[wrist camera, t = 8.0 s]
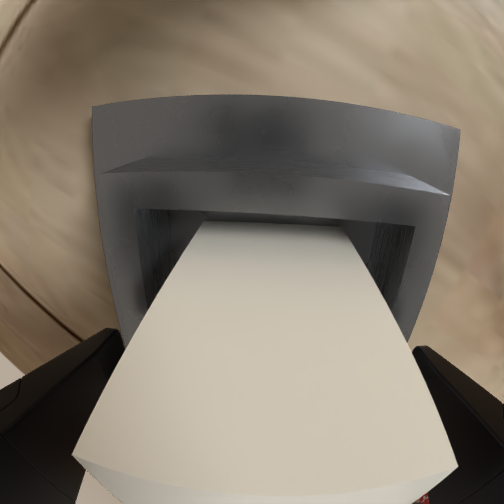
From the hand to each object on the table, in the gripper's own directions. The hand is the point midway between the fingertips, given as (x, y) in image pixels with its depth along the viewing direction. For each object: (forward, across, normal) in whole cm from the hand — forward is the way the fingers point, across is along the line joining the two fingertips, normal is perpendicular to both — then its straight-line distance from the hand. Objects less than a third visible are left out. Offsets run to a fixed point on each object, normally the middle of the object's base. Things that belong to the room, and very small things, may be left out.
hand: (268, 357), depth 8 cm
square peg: (+4, 0, 0) cm, 4 cm away
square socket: (+5, 0, 0) cm, 5 cm away
